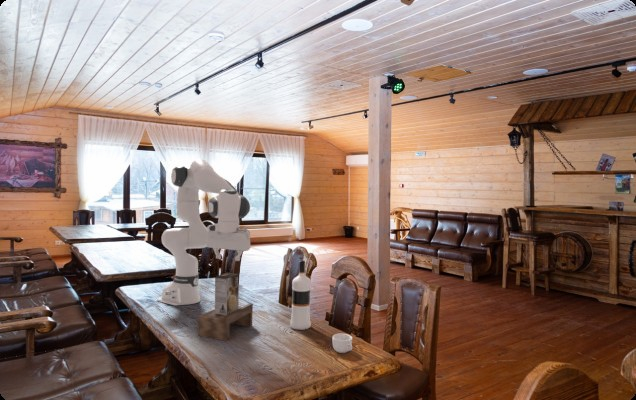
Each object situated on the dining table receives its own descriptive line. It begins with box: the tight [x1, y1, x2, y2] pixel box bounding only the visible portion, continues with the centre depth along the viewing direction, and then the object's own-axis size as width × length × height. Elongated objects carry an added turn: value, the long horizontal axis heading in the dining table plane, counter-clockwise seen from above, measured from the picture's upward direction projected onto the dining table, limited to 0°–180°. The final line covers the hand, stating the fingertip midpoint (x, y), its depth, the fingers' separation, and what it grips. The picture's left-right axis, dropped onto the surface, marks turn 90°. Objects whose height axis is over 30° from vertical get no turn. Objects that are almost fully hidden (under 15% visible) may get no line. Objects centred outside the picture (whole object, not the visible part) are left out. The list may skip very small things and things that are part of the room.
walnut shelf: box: [197, 303, 254, 342], centre depth 181 cm, size 14×20×10 cm
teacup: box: [331, 333, 353, 354], centre depth 162 cm, size 10×8×5 cm
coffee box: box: [214, 272, 240, 315], centre depth 181 cm, size 9×6×16 cm
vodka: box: [289, 260, 312, 331], centre depth 188 cm, size 9×9×30 cm
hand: (227, 259), depth 180 cm, fingers open, 8 cm apart
